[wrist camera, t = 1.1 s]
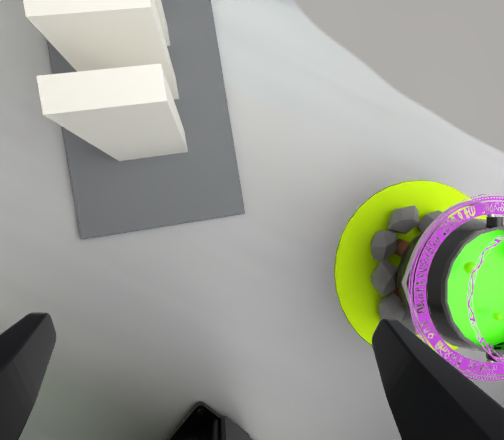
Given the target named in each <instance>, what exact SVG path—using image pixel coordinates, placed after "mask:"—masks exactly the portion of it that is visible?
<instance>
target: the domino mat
mask: <svg viewBox="0 0 504 440" xmlns="http://www.w3.org/2000/svg"><path fill="white" fill-rule="evenodd" d="M161 2H162V6H163V10H164V14H165V18H166V22H167V28H168V34H169V40H170V46H167V48H168V52H169V56H170V59H171V63H172V66H173V70H174V73H175V77H176V83H177V89H178V95H179V99H174V102H175V105H176V108H177V111H178V114H179V117H180V119H181V122H182V125H183V128H184V131H185V137H186V143H187V149H188V152H185V153H177V154H170V155H162V156H155V157H147V158H140V159H132V160H125V161H118V160H116V159H115V158H113V157H111V156H110V155H108V154H106V153H105V152H103V151H102V150H100V149H98V148H97V147H95V146H93V145H92V144H90V143H88V142H87V141H85V140H83V139H82V138H80V137H79V136H77V135H75V134H74V133H72V132H70V131H69V130H67V129H65V128H64V127H62V131H63V137H64V143H65V148H66V154H67V160H68V166H69V172H70V178H71V183H72V189H73V195H74V201H75V207H76V213H77V218H78V224H79V230H80V236H81V239H87V238H94V237H100V236H106V235H112V234H119V233H125V232H131V231H137V230H144V229H150V228H156V227H162V226H169V225H175V224H181V223H187V222H194V221H200V220H206V219H212V218H219V217H225V216H231V215H237V214H244V213H245V211H244V205H243V198H242V192H241V186H240V180H239V174H238V167H237V161H236V155H235V149H234V143H233V136H232V130H231V124H230V118H229V112H228V105H227V99H226V93H225V87H224V81H223V74H222V68H221V62H220V56H219V49H218V43H217V37H216V31H215V25H214V18H213V12H212V6H211V0H161ZM47 43H48V49H49V55H50V61H51V67H52V73H53V74H60V73H70V72H77V71H76V70H75V69H74V68H73V67H72V66H71V65H70V63H69V62H68V61H67V60H66V59H65V58H64V57H63V56H62V55H61V54H60V53H59V52H58V51H57V50H56V48H55V47H54V46H53V45H52V44H51V43H50V42H49V41H48V40H47Z"/></svg>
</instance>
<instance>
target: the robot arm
mask: <svg viewBox="0 0 504 440" xmlns="http://www.w3.org/2000/svg"><path fill="white" fill-rule="evenodd" d="M55 342H56V331H55V328H54V325H53V322H52V319H51V316H50V315H49V314H48V313H30V314H28V315H26V316H25V317H23V318H22V319H21V320H19V321H18V322H17V323H15V324H14V325H13V326H11V327H10V328H9V329H7V330H6V331H5V332H3V333H2V334H0V440H18V439H19V437H20V435H21V433H22V431H23V428H24V426H25V424H26V422H27V420H28V417H29V415H30V413H31V411H32V408H33V406H34V403H35V401H36V398H37V395H38V392H39V389H40V387H41V384H42V381H43V378H44V375H45V372H46V369H47V366H48V363H49V360H50V357H51V354H52V351H53V348H54V345H55ZM372 346H373V350H374V353H375V357H376V361H377V365H378V368H379V372H380V376H381V380H382V383H383V387H384V390H385V394H386V397H387V400H388V403H389V406H390V408H391V411H392V414H393V416H394V419H395V422H396V425H397V427H398V430H399V433H400V435H401V438H402V440H504V408H503V407H502V406H501V405H499V404H498V403H497V402H496V401H495V400H493V399H492V398H491V397H490V396H489V395H487V394H486V393H485V392H484V391H483V390H481V389H480V388H479V387H478V386H476V385H475V384H474V383H473V382H472V381H470V380H469V379H468V378H467V377H466V376H464V375H463V374H462V373H461V372H460V371H458V370H457V369H456V368H455V367H454V366H452V365H451V364H450V363H449V362H448V361H446V360H445V359H444V358H443V357H442V356H440V355H439V354H438V353H437V352H436V351H434V350H433V349H432V348H431V347H430V346H428V345H427V344H426V343H425V342H424V341H422V340H421V339H420V338H419V337H418V336H416V335H415V334H414V333H413V332H412V331H410V330H409V329H408V328H407V327H406V326H404V325H403V324H402V323H401V322H400V321H398V320H397V319H393V318H383V319H381V320H380V322H379V324H378V326H377V327H376V329H375V331H374V333H373V335H372ZM199 409H203V410H204V411H203V412H199V411H198V410H199ZM167 440H251V439H250V436H249V434H248V433H246V432H245V431H244V430H243V429H241V428H240V427H239V426H238V425H236V424H235V423H234V422H232V421H231V420H230V419H229V418H227V417H226V416H221V415H219V414H218V413H217V412H215V411H214V410H213V409H212V408H210V407H209V406H208V405H207V404H205V403H203V402H200V403H197V404H196V405H195V406H194V408H193V409H192V410H191V411H190V413H189V414H188V415H187V416H186V417H185V419H184V420H183V421H182V422H181V423H180V425H179V426H178V427H177V428H176V429H175V431H174V432H173V433H172V434H171V436H170V437H169V438H168V439H167Z"/></svg>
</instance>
